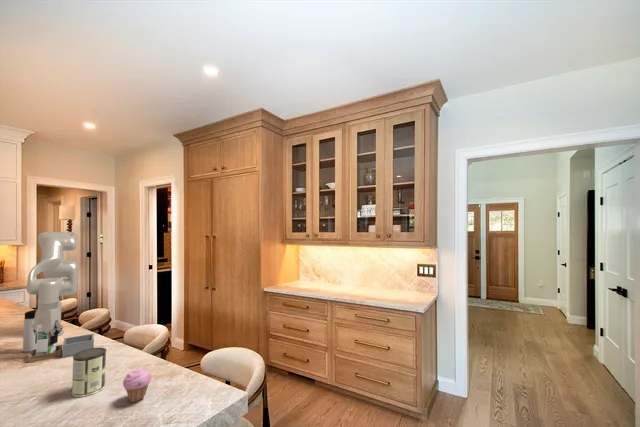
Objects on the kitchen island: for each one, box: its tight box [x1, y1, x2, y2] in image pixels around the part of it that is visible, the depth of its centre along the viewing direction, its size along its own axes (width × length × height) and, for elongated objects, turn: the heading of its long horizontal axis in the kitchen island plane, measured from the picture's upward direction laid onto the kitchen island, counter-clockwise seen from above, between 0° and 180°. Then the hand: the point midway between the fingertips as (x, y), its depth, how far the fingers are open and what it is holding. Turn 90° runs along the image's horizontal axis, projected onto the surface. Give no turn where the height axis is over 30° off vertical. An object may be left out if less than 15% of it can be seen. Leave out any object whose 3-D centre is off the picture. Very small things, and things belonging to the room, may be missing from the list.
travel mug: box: [22, 308, 38, 354], centre depth 156 cm, size 6×7×20 cm
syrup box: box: [35, 325, 57, 356], centre depth 150 cm, size 6×6×14 cm
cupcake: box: [122, 368, 152, 403], centre depth 112 cm, size 9×9×10 cm
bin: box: [61, 333, 95, 359], centre depth 155 cm, size 12×12×6 cm
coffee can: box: [71, 347, 107, 398], centre depth 118 cm, size 10×10×14 cm
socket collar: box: [27, 344, 63, 364], centre depth 149 cm, size 12×12×2 cm
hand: (46, 342), depth 150 cm, fingers closed on syrup box, 7 cm apart
